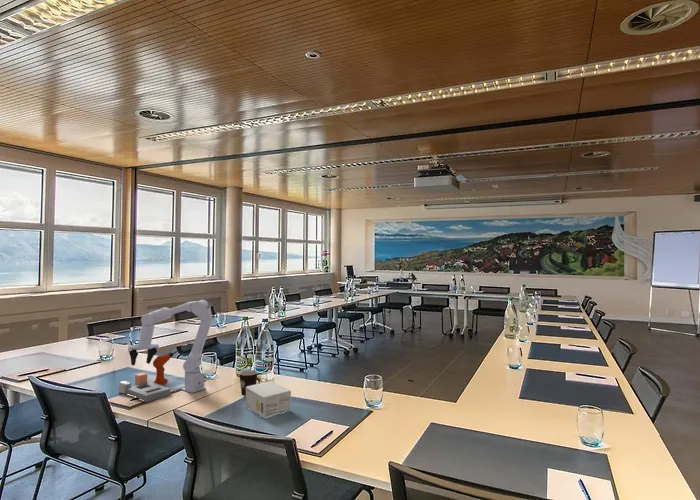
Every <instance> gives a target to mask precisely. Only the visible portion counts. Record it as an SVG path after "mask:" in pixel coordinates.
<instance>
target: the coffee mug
mask: <svg viewBox="0 0 700 500" xmlns="http://www.w3.org/2000/svg"><path fill="white" fill-rule="evenodd" d="M258 372H259V371H257V370H255V369H245V370H242V371H240V372H239V375H238V376H239V383H240V390H241V392H240V393H241V395H242V396H244V395H246V387H247V386H251V385H255V384H260V383H261V380H260V379H259V377H258V374H259V373H258ZM257 380H258V383H257Z"/></svg>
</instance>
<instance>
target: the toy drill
mask: <svg viewBox="0 0 700 500" xmlns="http://www.w3.org/2000/svg"><path fill="white" fill-rule="evenodd" d="M178 352H179V351H178V350H175V351H174V352H169V353H164V354H161V355H158V356H156V358H154V359H153V361H152V366H153V367H154V368H155V370H156V377H155V380H154V381H153V383H156V384H159V385H162V386H163V385H165V384H167V383H168V381H169V379H168V378H165V370H166V369H165V367H164V366H165V365H166V363H167V362H169V361H170V359H171V358H172V357H173V356H174V355H176V354H177V353H178Z"/></svg>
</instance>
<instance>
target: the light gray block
mask: <svg viewBox="0 0 700 500" xmlns="http://www.w3.org/2000/svg"><path fill="white" fill-rule="evenodd" d="M129 387H132V383H131V382H129V381H127V380H122V381H119V382H118V393H121V394H122V393H123V395H125V394H126V388H129Z"/></svg>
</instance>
